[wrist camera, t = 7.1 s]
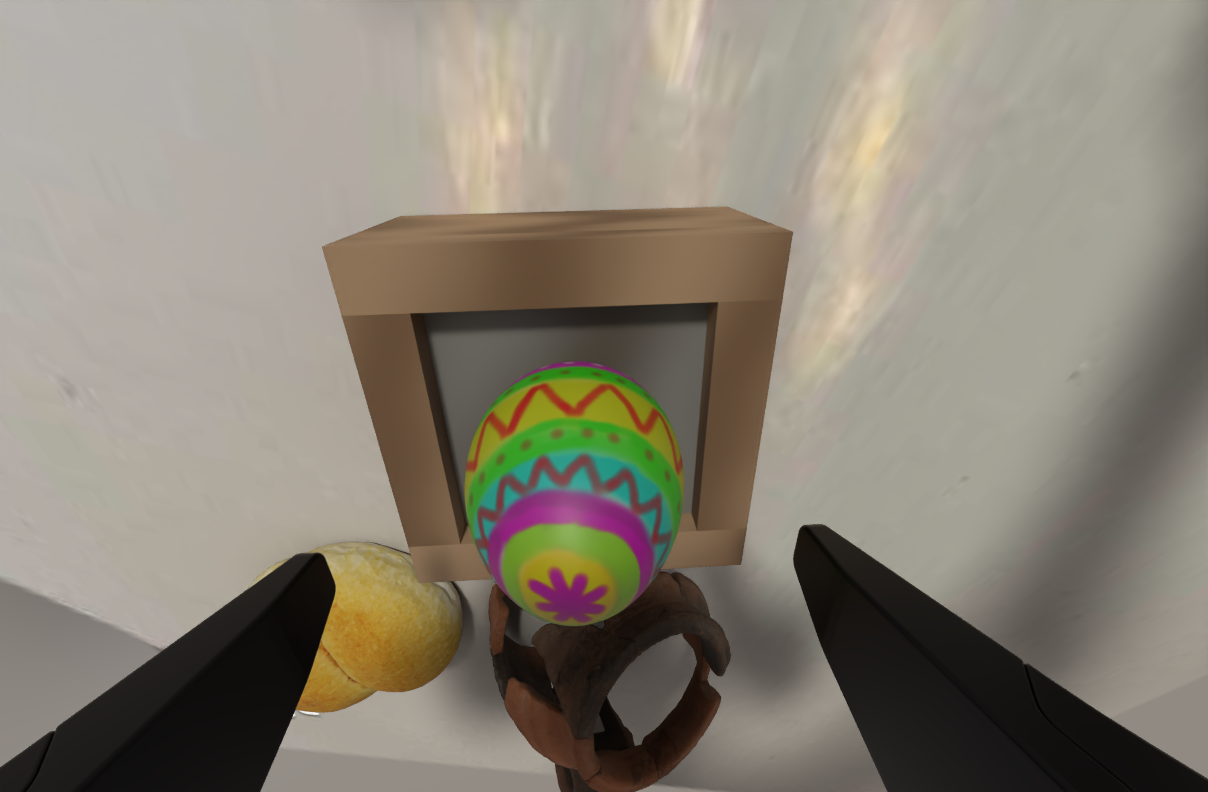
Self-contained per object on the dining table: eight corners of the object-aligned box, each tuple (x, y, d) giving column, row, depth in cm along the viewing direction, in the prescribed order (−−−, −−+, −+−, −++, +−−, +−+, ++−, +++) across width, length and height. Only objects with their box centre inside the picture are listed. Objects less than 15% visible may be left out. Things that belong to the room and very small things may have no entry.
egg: (491, 490, 14) (440, 698, 9) (479, 334, 12) (399, 487, 6) (655, 491, 14) (701, 692, 9) (674, 339, 12) (749, 489, 7)
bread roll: (493, 629, 24) (479, 714, 20) (330, 671, 24) (289, 759, 21) (414, 508, 20) (380, 587, 16) (224, 562, 21) (151, 648, 17)
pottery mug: (469, 528, 21) (546, 650, 14) (644, 489, 26) (765, 565, 19) (475, 750, 23) (542, 945, 17) (632, 677, 28) (735, 804, 21)
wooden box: (727, 207, 15) (793, 231, 10) (703, 469, 19) (741, 564, 15) (400, 216, 14) (321, 246, 10) (455, 481, 19) (419, 583, 15)
